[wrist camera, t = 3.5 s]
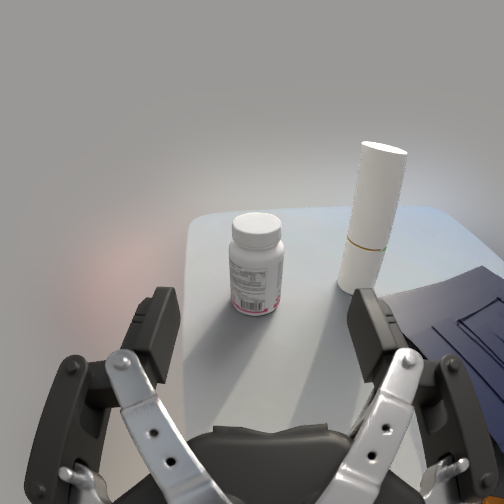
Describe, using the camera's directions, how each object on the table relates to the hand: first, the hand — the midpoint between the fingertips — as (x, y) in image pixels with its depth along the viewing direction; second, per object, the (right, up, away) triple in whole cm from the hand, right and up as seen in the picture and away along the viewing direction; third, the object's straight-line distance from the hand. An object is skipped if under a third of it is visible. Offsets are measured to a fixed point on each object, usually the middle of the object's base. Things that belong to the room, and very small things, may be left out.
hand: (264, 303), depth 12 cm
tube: (+11, -1, +17) cm, 20 cm away
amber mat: (+17, -21, -14) cm, 30 cm away
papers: (+27, -10, +5) cm, 29 cm away
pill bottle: (0, -3, +15) cm, 15 cm away
